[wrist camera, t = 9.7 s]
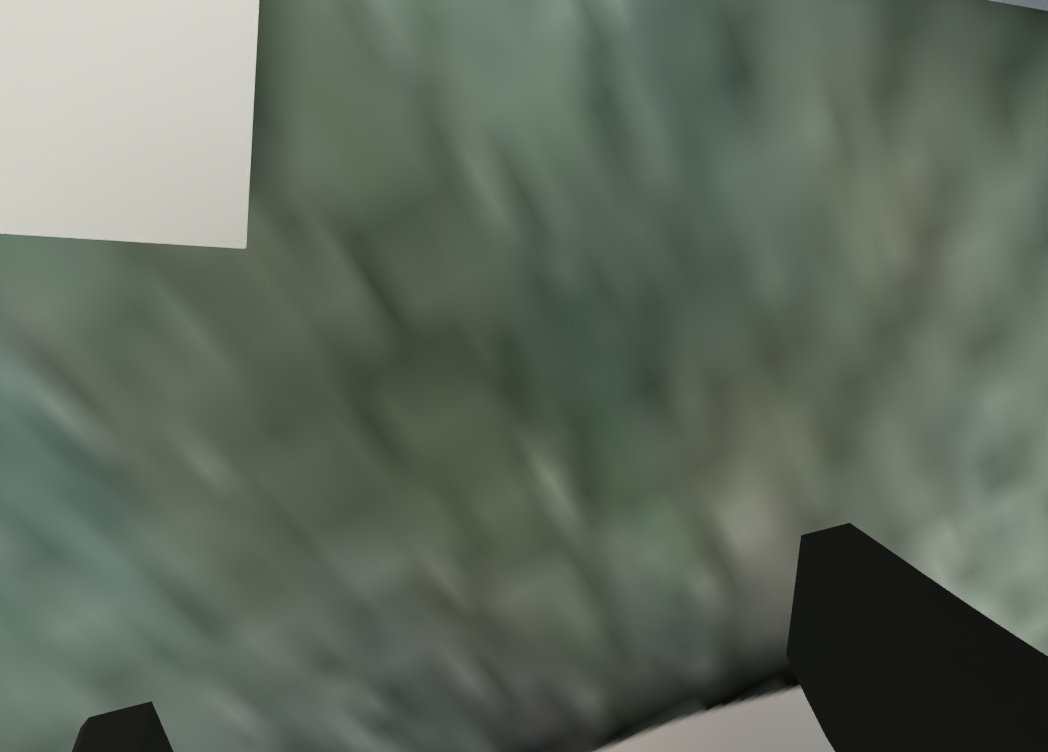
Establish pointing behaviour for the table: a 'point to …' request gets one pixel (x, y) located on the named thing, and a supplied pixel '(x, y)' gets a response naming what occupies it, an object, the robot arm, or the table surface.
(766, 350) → the table surface
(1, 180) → the fuse block
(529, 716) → the table surface
